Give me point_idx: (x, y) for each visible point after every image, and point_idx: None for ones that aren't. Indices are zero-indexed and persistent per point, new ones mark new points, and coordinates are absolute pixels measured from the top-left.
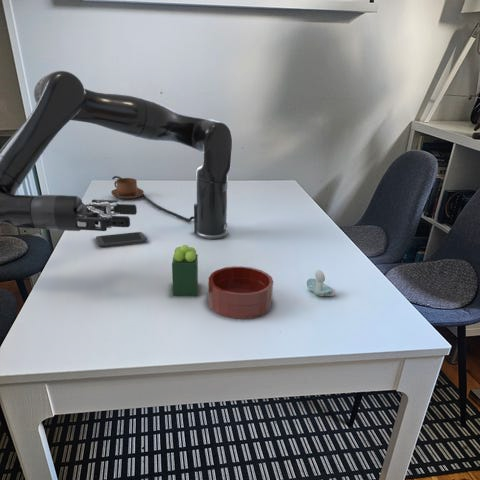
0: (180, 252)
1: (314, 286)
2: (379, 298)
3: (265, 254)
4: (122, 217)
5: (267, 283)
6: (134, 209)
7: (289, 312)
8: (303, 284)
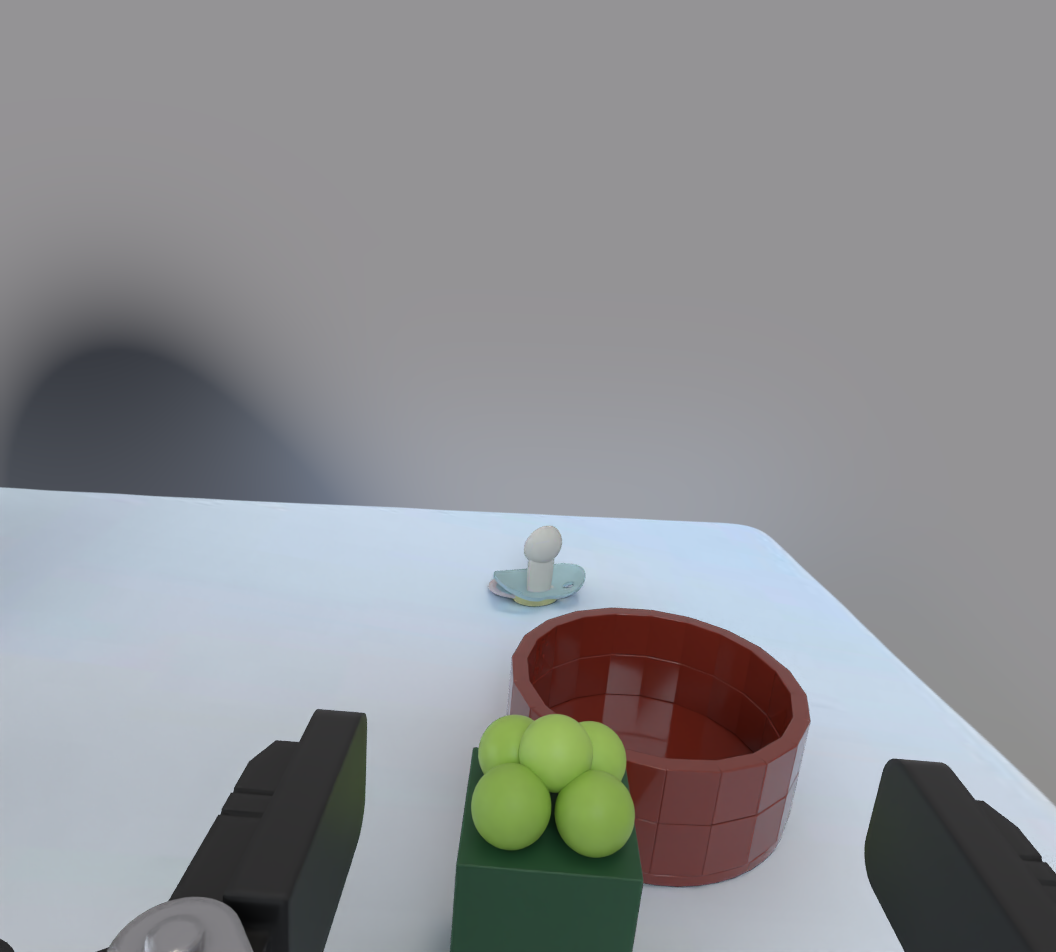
0: (606, 775)
1: (520, 589)
2: None
3: (159, 646)
4: (983, 818)
5: (609, 639)
6: (362, 768)
7: None
8: (472, 612)
